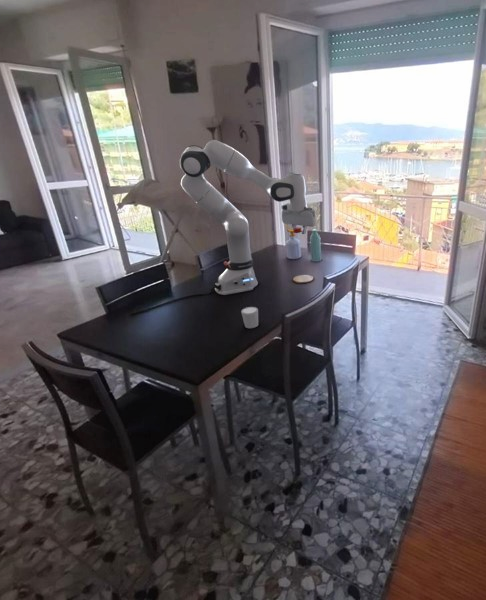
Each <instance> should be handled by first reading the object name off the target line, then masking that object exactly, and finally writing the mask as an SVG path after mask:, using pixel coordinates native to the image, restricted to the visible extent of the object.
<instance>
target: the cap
mask: <svg viewBox="0 0 486 600" xmlns="http://www.w3.org/2000/svg"><path fill="white" fill-rule="evenodd" d="M292 230H293V231H294V234H300V233H302V230H303V229H302V227H301V226H300V227H299V226H298V227H297V228H294V229H293V228H292Z"/></svg>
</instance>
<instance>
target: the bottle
mask: <svg viewBox="0 0 486 600" xmlns="http://www.w3.org/2000/svg"><path fill="white" fill-rule="evenodd" d="M311 232H312V233H311V235H310V238H309V245H310V246H309V248H310V260H311V262H313V263H314V262H317V263H318V262H321V261H322V247H321V245H322V243H321V237H320V234H319V233H318V229H316V228H313V229H311Z"/></svg>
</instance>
